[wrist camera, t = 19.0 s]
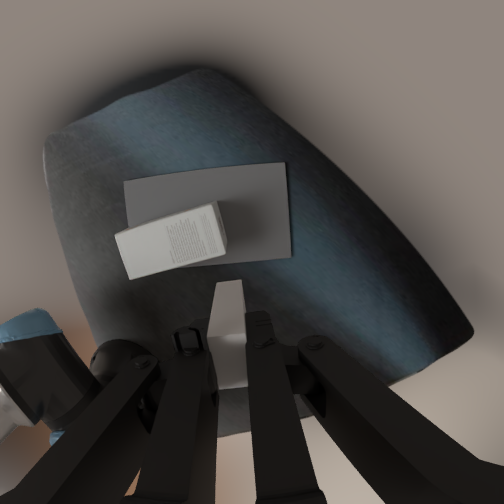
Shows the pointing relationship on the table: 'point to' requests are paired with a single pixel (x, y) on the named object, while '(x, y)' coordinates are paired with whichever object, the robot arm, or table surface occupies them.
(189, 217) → the small box
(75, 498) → the robot arm
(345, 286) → the table surface
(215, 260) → the mat
